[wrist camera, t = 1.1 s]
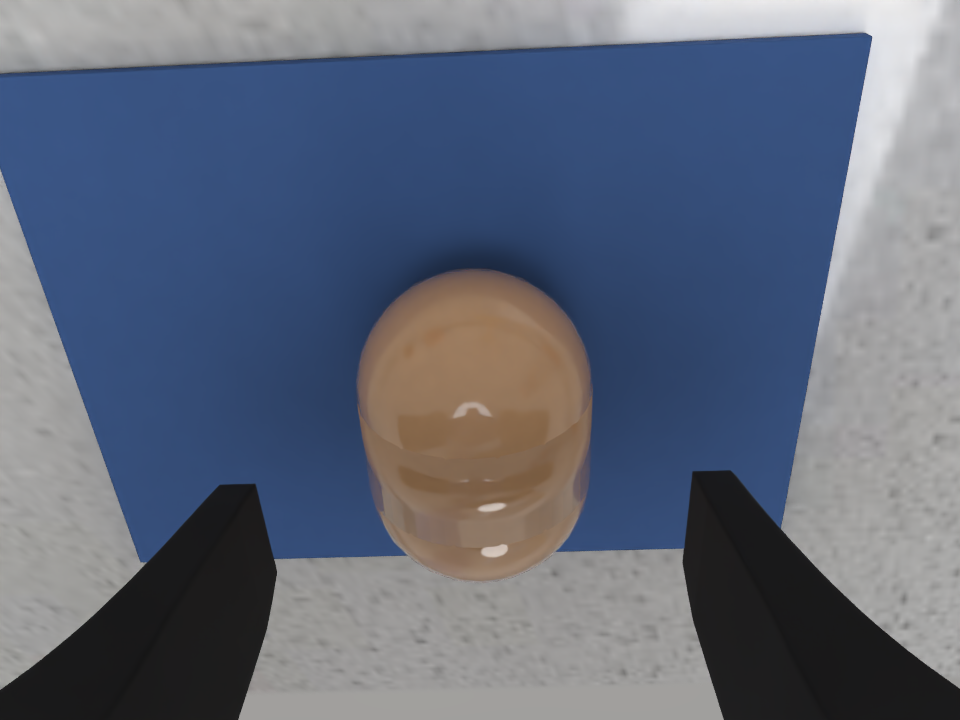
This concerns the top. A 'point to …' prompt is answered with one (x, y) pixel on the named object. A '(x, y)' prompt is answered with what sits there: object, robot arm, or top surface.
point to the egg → (476, 423)
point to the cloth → (435, 258)
